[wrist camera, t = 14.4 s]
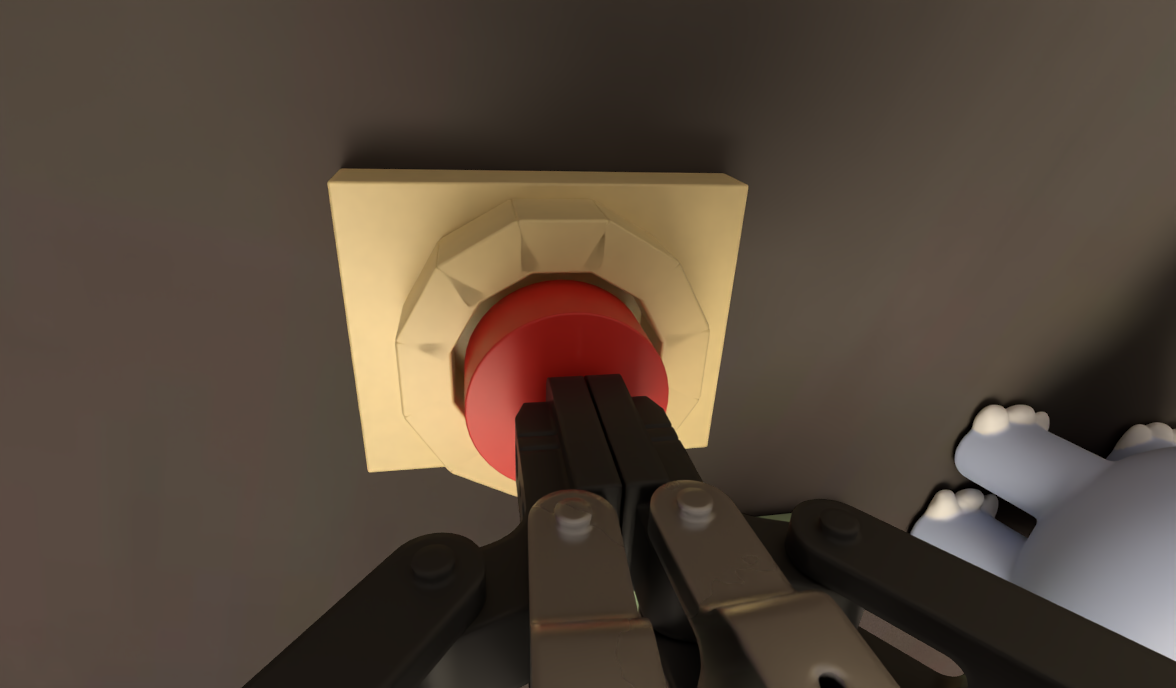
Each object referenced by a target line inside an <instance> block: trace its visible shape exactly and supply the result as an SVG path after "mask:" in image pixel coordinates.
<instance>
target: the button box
mask: <svg viewBox="0 0 1176 688" xmlns="http://www.w3.org/2000/svg"><path fill="white" fill-rule="evenodd" d="M327 185H328V192H329V199H330V206H331V213H332V220H333V227H334V234H335V242H336V249H337V256H338V263H339V270H340V277H341V284H342V291H343V298H344V305H345V313H346V320H347V327H348V334H349V341H350V348H351V355H352V362H353V369H354V377H355V384H356V391H357V398H358V405H359V412H360V419H361V426H362V433H363V440H364V448H365V455H366V462H367V469H368V472H381V471H394V470H407V469H420V468H433V467H446V468H447V469H448V470H449V471H451V473H453V474H456V475H458V476H461V477H464V478H467V479H469V480H472V481H475V482H478V483H480V484H483V485H486V486H489V487H491V488H494V489H497V490H499V491H502V492H505V493H508V494H510V495H513V496H516V497H518V496H517V487H516V481H514V480H512V479H509V478H507V477H506V476H504V475H503V474H501V473H499V472H498V471H497V470H495V469H494V468H493V467H492V466H490V465H489V464H488V463H487V462H486V461H485V459H484V458H483V457H482V456H481V455H480V454H479V452H478V451H477V449H476V448H475V446H474V444H473V442H472V440H471V438H470V436H469V433H468V429H467V426H466V420H465V407H464V360H465V354H466V348H467V345H468V342H469V339H470V337H471V335H472V333H473V331H474V329H475V327H476V325H477V324H478V323H479V321H480V320H481V318H482V317H483V316H484V315H485V314H486V312H487V311H488V310H489V309H490V308H491V307H492V306H493V305H495V304H496V303H497V302H498V301H499V300H501V299H502V298H504V297H505V296H507V295H508V294H510V293H512V292H514V291H516V290H518V289H520V288H522V287H525V286H528V285H531V284H534V283H538V282H543V281H548V280H575V281H581V282H586V283H589V284H592V285H596V286H598V287H600V288H602V289H605V290H607V291H608V292H610V293H611V294H613V295H615V296H616V297H617V298H619V299H620V300H621V301H622V302H623V303H624V304H625V305H626V306H627V307H628V308H629V309H630V310H631V312H632V313H633V314H634V316H635V318H636V319H637V321H638V322H639V324H640V326H641V327H642V329H643V330H644V332H645V333H646V335H647V337H648V338H649V340H650V341H651V343H652V344H653V346H654V348H655V349H656V351H657V352H658V354H659V356H660V357H661V360H662V362H663V364H664V366H665V370H666V374H667V377H668V386H669V397H668V405H667V410H666V415H667V417H668V418H669V420H670V422H671V424H672V427H673V428H674V430H675V431H676V433H677V435H678V439H679V440H680V441H681V443H682V444H683V446H684V448H698V447H706V446H707V444H708V437H709V431H710V425H711V419H712V412H713V406H714V400H715V393H716V387H717V381H718V375H719V368H720V362H721V356H722V350H723V343H724V337H725V331H726V325H727V318H728V312H729V306H730V300H731V293H732V287H733V281H734V274H735V268H736V262H737V256H738V249H739V243H740V237H741V231H742V224H743V218H744V212H745V206H746V199H747V193H748V185H746V184H744V183H742V182H740V181H738V180H736V179H734V178H732V177H730V176H728V175H726V174H724V173H659V172H580V171H502V170H423V169H345V168H342V169H340V170H339V171H338V172H337V173H336V174H335V175H334V176H333V177H332V178H331V179H330V180H329V181H328V183H327Z"/></svg>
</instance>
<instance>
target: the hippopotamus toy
mask: <svg viewBox="0 0 1176 688" xmlns="http://www.w3.org/2000/svg"><path fill="white" fill-rule="evenodd" d="M1048 429H1049V416H1048V414H1047V413H1045V412H1037V413H1035V411H1034V410H1033V409H1032V408H1031V407H1030V406H1027V405H1014V406H1011V407H1008V408H1006V409H1005V408H1004V407H1002V406H1000V405H989V406H987V407H985V408H983V409H982V410H981V411H980V412H979V413H978V414H977V416H976V417H975V419H974V422H973V426H972V428H971V430H970V431H969V432H968V433H967V434H966V435H965V436H964V437H963V439H962V440H961V441H960V443H959V445H958V447H957V449H956V452H955V465H956V467H957V469H958V471H959V472H960V473H961V474H962V475H963V476H965V477H966V478H968V479H969V480H971V481H973V482H975V483H976V484H978V485H980V486H982V487H983V488H985V489H987V490H989V491H990V492H992V493H994V494H996V495H997V496H999V497H1001V498H1003V499H1004V500H1006V501H1008V502H1010V503H1011V504H1013V505H1015V506H1016V507H1018V508H1020V509H1022V510H1023V511H1025V512H1027V513H1029V514H1030V515H1032V516H1034V517H1035V518H1036V519H1037V524H1036V526H1035V528H1034V529H1033V531H1032V532H1031V534H1030V536H1029V538H1027V537H1025V536H1023V535H1021V534H1020V533H1018V532H1016V531H1015V530H1013V529H1011V528H1010V527H1008V526H1006V525H1005V524H1003V523H1001V522H1000V521H998V520H996V519H995V515H996V513H997V510H998V499H997V497H996V496H995V495H994V494H988V495H985V496H984V495H983V493H982V492H981V491H980V490H977V489H973V488H969V489H963V490H960V491H958V492H957V493H956V494H955V495H954V493H953V492H952V491H951V490H941V491H939V492H937V493H936V494H935V496H934V497H933V499H932V501H931V502H930V504H929V506H928V508H927V509H926V511H925V513H924V514H923V515H922V516H921V517H920V518H919V519H918V521H917V522H916V523H915V525H914V527H913V529H912V531H911V533H910V534H911V535H913V536H915V537H917V538H919V539H921V540H923V541H925V542H927V543H929V544H932V545H934V546H936V547H938V548H940V549H942V550H944V551H946V552H948V553H950V554H953V555H955V556H957V557H959V558H961V559H963V560H965V561H967V562H969V563H971V564H973V565H976V566H978V567H980V568H982V569H984V570H986V571H988V572H990V573H992V574H994V575H996V576H999V577H1001V578H1003V579H1005V580H1007V581H1009V582H1011V583H1013V584H1015V585H1017V586H1020V587H1022V588H1024V589H1026V590H1028V591H1030V592H1032V593H1034V594H1036V595H1038V596H1040V597H1043V598H1045V599H1047V600H1049V601H1051V602H1053V603H1055V604H1057V605H1059V606H1061V607H1063V608H1066V609H1068V610H1070V611H1072V612H1074V613H1076V614H1078V615H1080V616H1082V617H1084V618H1086V619H1089V620H1091V621H1093V622H1095V623H1097V624H1099V625H1101V626H1103V627H1105V628H1107V629H1110V630H1112V631H1114V632H1116V633H1118V634H1120V635H1122V636H1124V637H1126V638H1128V639H1130V640H1133V641H1135V642H1137V643H1139V644H1141V645H1143V646H1145V647H1147V648H1149V649H1151V650H1153V651H1156V652H1158V653H1160V654H1162V655H1164V656H1166V657H1168V658H1170V659H1172V660H1174V661H1176V429H1171V428H1170V427H1169V426H1168V425H1166V424H1164V423H1159V422H1155V423H1150V424H1147V425H1142V424H1137V425H1134V426H1132V427H1131V428H1130V429H1128V430H1127V431H1126V432H1125V433H1124V435H1123V436H1122V437H1121V438H1120V439H1119V441H1118V442H1117V444H1116V445H1115V447H1114V449H1113V451H1112V452H1111V453H1110V455H1109V456H1108V457H1107V458H1106V459H1104V458H1102V457H1100V456H1098V455H1096V454H1094V453H1091V452H1089V451H1087V450H1085V449H1083V448H1081V447H1079V446H1077V445H1075V444H1073V443H1071V442H1069V441H1067V440H1065V439H1063V438H1061V437H1058V436H1056V435H1054V434H1052V433H1050V432H1048Z"/></svg>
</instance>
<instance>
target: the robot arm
mask: <svg viewBox="0 0 1176 688" xmlns="http://www.w3.org/2000/svg"><path fill="white" fill-rule="evenodd" d="M515 471H516V487H517V496H518V505H519V512H520V522H521V523H520V524H519V526H518V527H517V528H516V529H515V530H514V531H512V532H511V533H510V534H509V535H507V536H505V537H504V538H502V539H500V540H498V541H496V542H493V543H491V544H488V545H485V546H483V547H480V548H479V547H478V546H477V545H476V544H475V543H474V542H473V541H471V540H470V539H468V538H466V537H464V536H461V535H457V534H453V533H433V534H427V535H423V536H420V537H417V538H415V539H412V540H410V541H408V542H407V543H405V544H403V545H402V546H400V547H399V548H398V549H397V550H395V551H394V552H393V553H392V554H391V555H390V556H389V557H387V558H386V559H385V560H384V561H383V562H382V563H381V564H380V565H379V566H377V567H376V568H375V569H374V570H373V571H372V572H371V573H370V574H368V575H367V576H366V577H365V578H364V579H363V580H362V581H361V582H359V583H358V584H357V585H356V586H355V587H354V588H353V589H352V590H351V591H349V592H348V593H347V594H346V595H345V596H344V597H343V598H342V599H340V600H339V601H338V602H337V603H336V604H335V605H334V606H333V607H331V608H330V609H329V610H328V611H327V612H326V613H325V614H324V615H322V616H321V617H320V618H319V619H318V620H317V621H316V622H315V623H314V624H312V625H311V626H310V627H309V628H308V629H307V630H306V631H305V632H303V633H302V634H301V635H300V636H299V637H298V638H297V639H296V640H294V641H293V642H292V643H291V644H290V645H289V646H288V647H287V648H285V649H284V650H283V651H282V652H281V653H280V654H279V655H278V656H277V657H275V658H274V659H273V660H272V661H271V662H270V663H269V664H268V665H266V666H265V667H264V668H263V669H262V670H261V671H260V672H259V673H257V674H256V675H255V676H254V677H253V678H252V679H251V680H250V681H249V682H247V683H246V684H245V685H244V686H243V687H242V688H520V687H522V686H524V685H526V684H528V687H529V688H1176V661H1174V660H1172V659H1170V658H1168V657H1166V656H1164V655H1162V654H1160V653H1158V652H1156V651H1153V650H1151V649H1149V648H1147V647H1145V646H1143V645H1141V644H1139V643H1137V642H1135V641H1133V640H1130V639H1128V638H1126V637H1124V636H1122V635H1120V634H1118V633H1116V632H1114V631H1112V630H1110V629H1107V628H1105V627H1103V626H1101V625H1099V624H1097V623H1095V622H1093V621H1091V620H1089V619H1086V618H1084V617H1082V616H1080V615H1078V614H1076V613H1074V612H1072V611H1070V610H1068V609H1066V608H1063V607H1061V606H1059V605H1057V604H1055V603H1053V602H1051V601H1049V600H1047V599H1045V598H1043V597H1040V596H1038V595H1036V594H1034V593H1032V592H1030V591H1028V590H1026V589H1024V588H1022V587H1020V586H1017V585H1015V584H1013V583H1011V582H1009V581H1007V580H1005V579H1003V578H1001V577H999V576H996V575H994V574H992V573H990V572H988V571H986V570H984V569H982V568H980V567H978V566H976V565H973V564H971V563H969V562H967V561H965V560H963V559H961V558H959V557H957V556H955V555H953V554H950V553H948V552H946V551H944V550H942V549H940V548H938V547H936V546H934V545H932V544H929V543H927V542H925V541H923V540H921V539H919V538H917V537H915V536H913V535H911V534H909V533H906V532H904V531H902V530H900V529H898V528H896V527H894V526H892V525H890V524H888V523H886V522H883V521H881V520H879V519H877V518H875V517H873V516H871V515H869V514H867V513H865V512H863V511H860V510H858V509H856V508H854V507H852V506H849V505H847V504H844V503H841V502H838V501H833V500H826V499H814V500H808V501H805V502H802V503H800V504H799V505H797V506H796V507H795V508H794V510H793V511H792V515H791V518H790V522H787V521H780V520H774V519H767V518H760V517H754V516H749V515H746V514H742V513H741V512H740V511H739V509H738V508H737V506H736V505H735V504H734V502H733V501H732V500H731V499H730V497H729V496H727V495H726V494H725V493H724V492H722V491H721V490H720V489H718V488H716V487H714V486H712V485H709V484H706V483H703V481H702V480H701V478H700V476H699V474H698V472H697V470H696V468H695V467H694V465H693V463H692V461H691V459H690V457H689V455H688V454H687V452H686V450H685V448H684V446H683V444H682V443H681V441H680V440H679V439H678V435H677V433H676V431H675V430H674V428H673V427H672V424H671V422H670V420H669V418H668V417H667V415H666V413H665V411H664V409H663V408H662V407H660V406H659V405H658V404H656V403H655V402H654V401H652V400H651V399H650V398H649V397H647V396H634V397H631V395H630V393H629V391H628V389H627V387H626V385H625V382H624V380H623V378H622V376H621V375H620V374H603V375H585V376H584V377H583V376H565V377H548V378H547V381H546V402H530V403H523V405H522V406H521V408H520V410H519V412H518V413H517V415H516V417H515ZM634 591H635V594H636V598H637V601H638V604H639V606H638V609H637V605H636V600H635V595H634ZM864 609H865V610H867V611H869V612H871V613H873V614H874V615H876V616H878V617H880V618H881V619H883V620H885V621H887V622H888V623H890V624H892V625H894V626H895V627H897V628H899V629H901V630H902V631H904V632H906V633H908V634H909V635H911V636H913V637H915V638H916V639H918V640H920V641H922V642H923V643H925V644H927V645H929V646H930V647H932V648H934V649H936V650H937V651H939V652H941V653H943V654H944V655H946V656H948V657H949V658H951V659H952V660H953V661H954V662H955V663H956V664H957V665H958V666H959V667H960V668H961V669H962V671H963V672H964V674H963V675H961V676H957V677H951V676H946V675H942V674H940V673H938V672H936V671H934V670H932V669H931V668H929V667H927V666H925V665H924V664H922V663H920V662H919V661H917V660H915V659H914V658H912V657H910V656H909V655H907V654H905V653H903V652H902V651H900V650H898V649H897V648H895V647H893V646H892V645H890V644H888V643H886V642H885V641H883V640H881V639H880V638H878V637H876V636H875V635H873V634H871V633H869V632H868V631H866V630H864V629H863V628H861V627H859V623H860V620H861V617H862V614H863V612H864Z"/></svg>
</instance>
